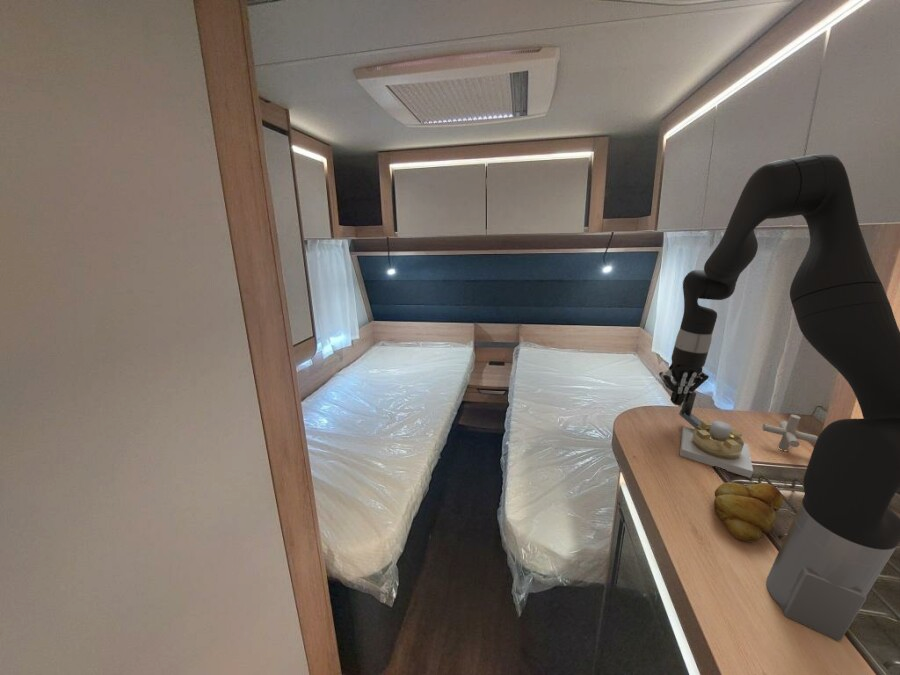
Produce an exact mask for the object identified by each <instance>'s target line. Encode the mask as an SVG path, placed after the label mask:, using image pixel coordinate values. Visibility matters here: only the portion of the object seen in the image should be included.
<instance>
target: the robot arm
mask: <svg viewBox="0 0 900 675" xmlns="http://www.w3.org/2000/svg"><path fill="white" fill-rule="evenodd" d="M849 179H850V178H849V176H848V173H847V170H846V168H845V165H844V163H843V162H842V161H841V160H840V158H839V157H837V155H834V154H832V153H816V154H815V153H814V154H808V155H803V156H797V157H791V158H784V159H779V160H775V161H771V162H767V163H764V164H762V165H761V166H759V167H758V168H757V169H756V170H755V171H754V172H753V173H752V174H751V175H750V177H749V179H748V180H747V182H746V184H745V185H744V187H743V188H742V192H741V194H740V196H739V198H738V200H737V203H736V205H735V207H734V209H733V211H732V214H731V216H730V219H729V222H728V224H727V227H726V228H725V231H724V234H723V236H722V238H721V239H720V240H719V243H718V244H717V246H716V247H715V249H714V250H713V251H712V253H711V254H710V255H709V257H708V259H706V261H705V263H704V265H703V269H694V270H691V271H690V272H688V273H687V274H686V275H685V277H684V279H683V281H682V293H683V314H682V320H681V323H680V327H679V330H678V332H677V334H676V339H675V341H674V347H673V351H672V354H671V364H670V365H669V366H668V370H666V371H665V372H663V371H660V372H659V374H658V375H659V377H660V378H661V380H662V382H663V383H664V385H665V387H666V388H667V389H668V390H670V391H671V396H670V401H671V403H672V404H673V405H675V406H681V405H683V401H684V398H685V394H686V393H688V392H689V391H691V392H693V391H694V392H695V390H697V389H698V388H699V387H701V385H702V384H703V383H705V381H707V380H708V379H709V375H708V374H706V373H705V372H704V371H703V367H704V366H705V364H706V362H707V359H708V358H707V357H708V354H709V351H710V347H711V344H712V340H713V339H712V338H713V332H714V328H715V325H716V323H717V320H718V319H717V318H718V312H717V311H715V310H714V309H712V308H709V307H706V306H702V305H700V304H699V299H700V300H711V301H712V300H713V301H724V300H727V299H728V298H730V297H732V296H733V294H734V292H735V290H736V285H737V282H738V279H739V277H740V275H741V274H742V272H743V271H744V270H745V269H746V268H747V267H748V266H749V265H750V264H751V263H752V261H753V260H754V258H755V257H756V255H757V252H758V249H759V247H758V246H759V243H758V239H757V236H756V233H755V229H756V228H757V227H758V226H759V225H760V224H761V223H763V222H764V221H766V220H771V219H781V218H790V217H795V216H802V217H803V218H804V220H805V222H806V225H807V226H808V227H807V228H808V232H809V246H808V249H807V251H806V253H805V256H804V258H803V259H802V261H801V263H800V264H799V267H798V269H797V271H796V273H795V275H794V277H793V280H792V282H791V283H790V284H791V285H790V289H789V297H790V298H789V299H790V303H791V304H792V308H793V313H794V315H795V319H796V322H797V324H798V328H799V330H800V332H801V334H802V335H803V337H804V338H805V340H806V341H807V342H808V343H809V344H810V346H811V347H813V349H814V350H816V351H817V353H819V354H820V355H821V356H822V357H823V359H825V360H826V361H827V362H828V363H829V364H830V365H831V366H832V367H834V368H835V369H836V370H837V372H838V373H840V375H841V376H842V377H843V378H844V380H846V382H847V383H848V385H849V386H850V388H851V389H852V391H853V393H854V395H855V397H856V400H857V402H858V405H859V408H860V412H861V415H862V418H844V419H838V420H835V421H832V422H830V423H828V425H827V426H825V427H824V428H823V430H821V432H820V434H819V435H818V436H817V437H818V439H817V441H816V443H814V447H813V449H812V453H811V454H810V458H809V461H808V464H807V466H806V470H805V473H804V476H803V489H804V495H803V498H802V500H801V503H800V505H799V507H798V509H797V512H796V514H795V516H794V518H793V521H792V522H791V525H789V529H788V530H787V533H786V535H785V537H784V540H783V541H782V544H781V546H780V548H779V550H778V552H777V554H776V558H775V559H774V562H773V564H772V566H771V568H770V571H769V573H768V575H767V578H766V581H765V582H766V588H767V590H768V592H769V594H770V596H771V597H772V599H773V600H774V601H775V602H776V604H778V606H779V607H780V608H781V610H782V614H783V615H784V616H785V617H787V618H789V619H791V620H793V621H796V622H797V623H799V624H802V625H803V626H805V627H808V628H810V629H812V630H815V631H816V632H819V633H821V634H822V635H823V634H824V635H825V636H827V637H830V638H831V639H834V640H836V641H838V642H841V641H842V640H843V638H844V636H845V635H846V632H848V630H849V628H850V627H851V625H852V623H853V622H854V620H855V618H856V617H857V615H858V614H859V612H860V610H861V609H862V607H863V605H864V603H865V602H866V600H867V596H868V594H869V592H870V590H871V589H872V587H873V586H874V584H875V582H876V580H877V579H878V578H879V576H880V574H881V573H882V571H883V569H884V567H885V566H886V565H887V563H888V562H889V560H890V558H891V556H892V555H893V553H894V552H895V550H896V549H897V547H898V545H899V543H900V517H899V516H898V515H897V514H896V513H895V512H894V511H892V509H890V507H889V506H890V504H891V502H892V500H893V498H894V496H895V495H896V494H900V329H899V327H898V326H899V325H898V324H897V320H896V318H895V314H894V312H893V309H892V305H891V303H890V301H889V298H888V295H887V293H886V290H885V288H884V286H883V283H882V281H881V279H880V277H879V276H878V273H877V271H876V268H875V266H874V263H873V261H872V258H871V256H870V253H869V250H868V247H867V244H866V242H865V239H864V236H863V233H862V230H861V228H860V223H859V219H858V215H857V211H856V206H855V202H854V197H853V192H852V187H851V184H850V180H849Z"/></svg>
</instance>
